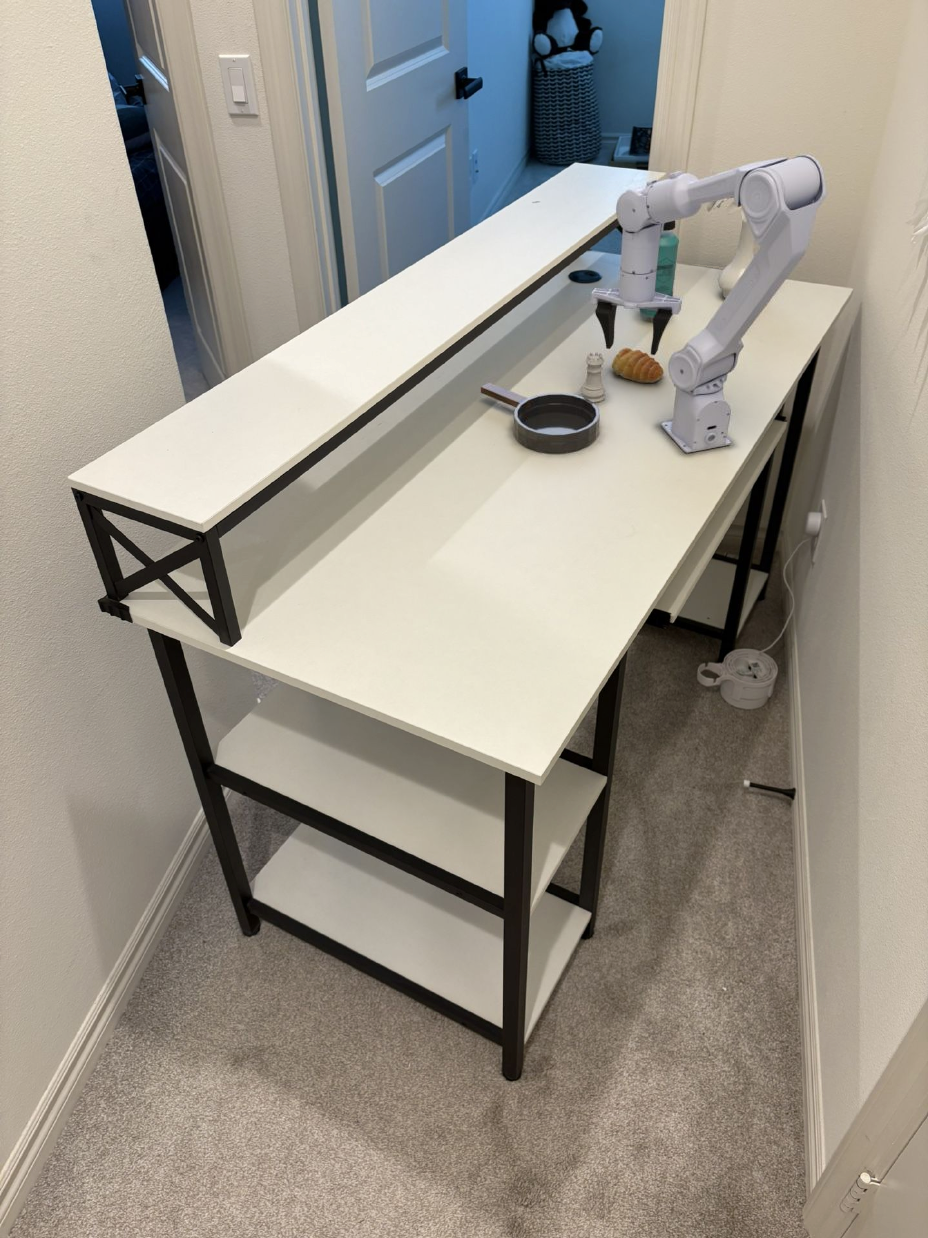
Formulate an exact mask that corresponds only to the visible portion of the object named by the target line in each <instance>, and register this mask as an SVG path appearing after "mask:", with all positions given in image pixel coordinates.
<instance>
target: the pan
mask: <svg viewBox="0 0 928 1238" xmlns="http://www.w3.org/2000/svg"><path fill="white" fill-rule="evenodd" d="M527 398H528V399H526V400H524V401H523V402H521V403H520V404H519V405H518V406H517V407H516V408H515V409H514V410H513V435H514V436H515V438H516V439H517V441H518V442H519V443H521V444H522V445H523V446H525V447H526V448H529V449H530V450H533V451H536V452H541V453H546V454H566V453H572V452H576V451H579V450H582V449H584V448H587V447H588V446H590V445H591V444H592V443H593V442H594V441H595V440H596V439H597V437H598V435H599V434H600V421H601V420H600V418H601V417H600V416H601V415H600V409H599V407H598V406H597V405H596V403H593V402H591V401H590V400H588V399H586V398H584V397H581V396H580V395H577V394H574V393H573V394H572V393H567V392H566V393H565V392H548V393H547V392H546V393H542V394H535V395H534V396H531V397H527ZM528 401H530V407H529V408H527V409H526V403H527V402H528Z"/></svg>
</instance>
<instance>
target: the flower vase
mask: <svg viewBox="0 0 928 1238" xmlns="http://www.w3.org/2000/svg"><path fill="white" fill-rule="evenodd" d="M729 170H731V168H729ZM713 175H716V172H715V170H714V169H712V170H711V171H710V176H713ZM729 199H734V197H731V198H726V199H721V200H717V201H712V202H707V205H706V211H707V212H710V211H711V210H712V209H714V210H715V209H716V208H717V209H720V208H721V205H722V203H724V202H727V200H729ZM740 211H741V212H740ZM738 212H740V213H741V214H740V215H741V218H742V222H741V223H742V224H741V230H740V235H739V241H738V245H737V249H736V252H735V254H734V256H733V258H732V260H731V261H730V262H729V263H728V264H727V265H726V266H725V267H724V268H723V269H722V270H721V271H720V273H719V275H718V278H717V285H718V287H719V289H720V290H721V291H722V292H723V294H722V295H723V297H724V299H726V297H727V296H728V294H729V293H730V291H731V290H732V289H733V287H734V286H735V284H736V283H737V281H738V280H739V278H740V277H741V275H742V274H743V273H744V271H745V270H746V268H747V267H748V265H749V264H750V262H751V261H752V260H753V258H754V257H755V255H756V253H755V249H756V248H755V247H756V241H755V238H754V236H753V234H752V231H751V229H750V226H749V224H748V222H747V219H746V217H745V214H744V212H743V209H742V206H740V207H736V206H735V202H734V201H732V202H731V203H730V204H729V205H728V206H727V208H726V214H727V215H734V214H736V213H738Z"/></svg>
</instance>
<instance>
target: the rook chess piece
mask: <svg viewBox="0 0 928 1238" xmlns="http://www.w3.org/2000/svg"><path fill="white" fill-rule="evenodd" d="M584 361H585V363H586V365H587V366H586V368H585V371H586V377H585V381H584V383H583V385H582V386H581V389H580V395H579V396H581V397H584V398H586V399H588V400H590V401H591V402H593V403H594V404H598V403H601V402H602V401H604V399H605V398H606V388H605V386H604V383H603V381H602V371H603V367H602V365H603V364H604V362H605V359H604V357H603V354H602V353H601V352H600V353H599V352H598V351H595V352H590V353H588V354H587V356H586V358H585V360H584Z"/></svg>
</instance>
